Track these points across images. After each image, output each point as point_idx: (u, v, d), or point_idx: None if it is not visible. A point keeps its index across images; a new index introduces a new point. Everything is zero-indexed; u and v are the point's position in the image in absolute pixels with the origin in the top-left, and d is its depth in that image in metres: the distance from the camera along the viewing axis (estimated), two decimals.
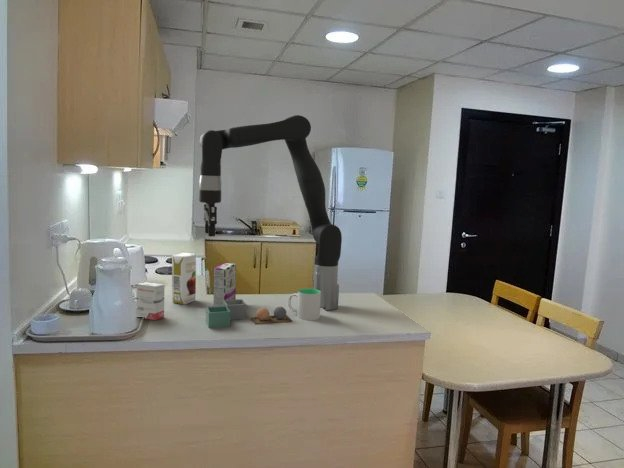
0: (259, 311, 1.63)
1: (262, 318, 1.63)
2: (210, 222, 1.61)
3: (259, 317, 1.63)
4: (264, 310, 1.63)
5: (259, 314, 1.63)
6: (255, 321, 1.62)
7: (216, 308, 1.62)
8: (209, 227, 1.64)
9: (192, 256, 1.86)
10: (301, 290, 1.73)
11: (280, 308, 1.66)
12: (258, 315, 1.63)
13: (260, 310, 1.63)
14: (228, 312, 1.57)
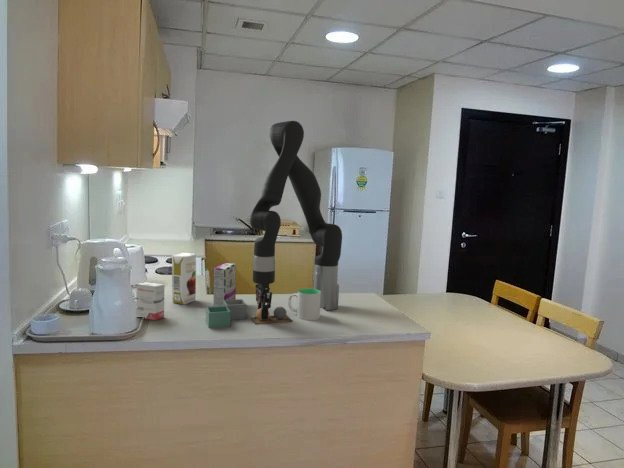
0: (259, 311, 1.63)
1: None
2: (264, 307, 1.59)
3: (259, 317, 1.63)
4: None
5: (259, 314, 1.63)
6: (255, 321, 1.62)
7: (216, 308, 1.62)
8: (262, 310, 1.61)
9: (192, 256, 1.86)
10: (301, 290, 1.73)
11: (280, 308, 1.66)
12: (258, 315, 1.63)
13: (260, 310, 1.63)
14: (228, 312, 1.57)
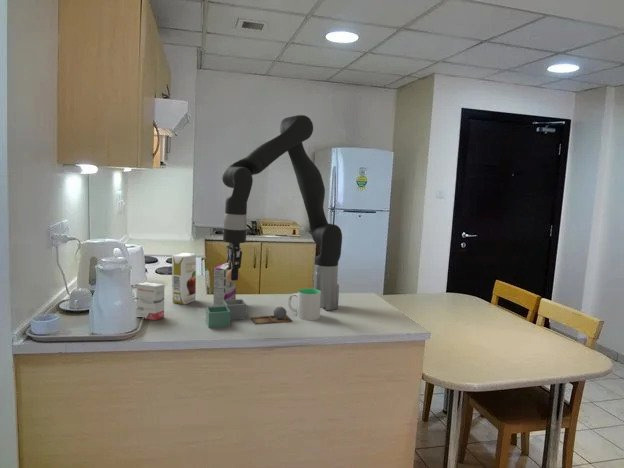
0: (229, 272, 1.57)
1: None
2: (234, 266, 1.53)
3: (229, 278, 1.57)
4: None
5: (229, 275, 1.57)
6: (255, 321, 1.62)
7: (216, 308, 1.62)
8: (232, 271, 1.56)
9: (192, 256, 1.86)
10: (301, 290, 1.73)
11: (280, 308, 1.66)
12: (228, 276, 1.57)
13: (230, 271, 1.57)
14: (228, 312, 1.57)
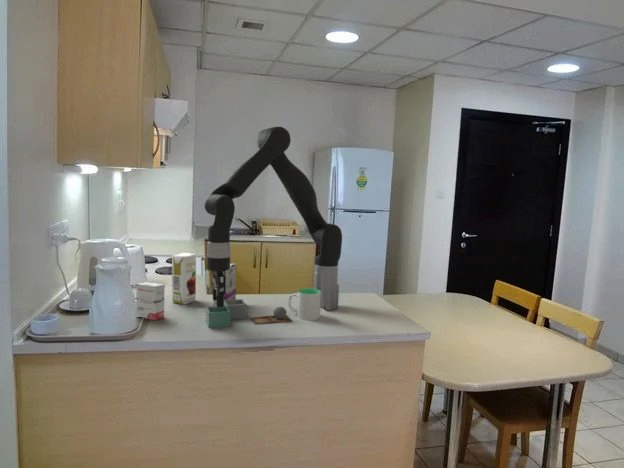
0: None
1: None
2: (219, 293, 1.51)
3: None
4: None
5: None
6: (255, 321, 1.62)
7: (216, 308, 1.62)
8: (217, 297, 1.54)
9: (192, 256, 1.86)
10: (301, 290, 1.73)
11: (280, 308, 1.66)
12: None
13: None
14: (228, 312, 1.57)
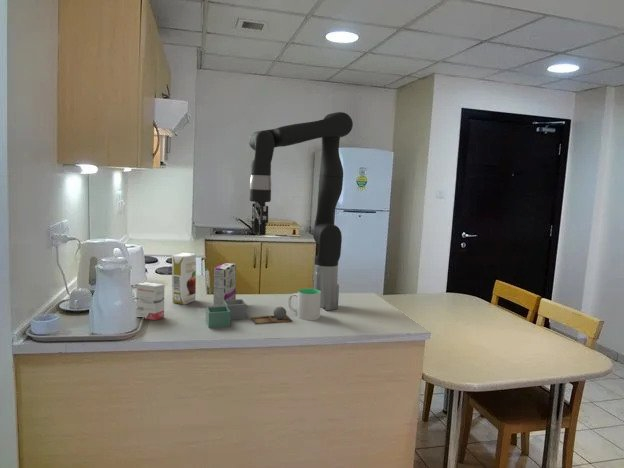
0: None
1: None
2: (262, 221, 1.63)
3: None
4: None
5: None
6: (255, 321, 1.62)
7: (216, 308, 1.62)
8: (260, 226, 1.66)
9: (192, 256, 1.86)
10: (301, 290, 1.73)
11: (280, 308, 1.66)
12: None
13: None
14: (228, 312, 1.57)
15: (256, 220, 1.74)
